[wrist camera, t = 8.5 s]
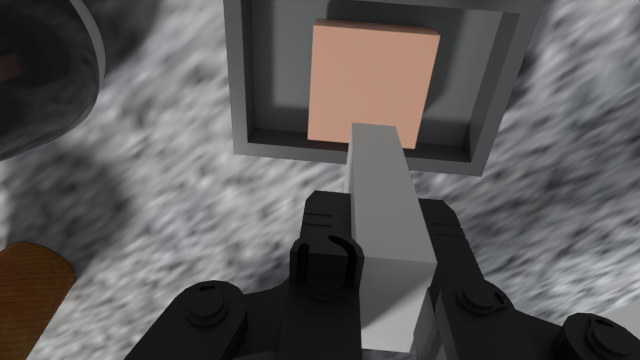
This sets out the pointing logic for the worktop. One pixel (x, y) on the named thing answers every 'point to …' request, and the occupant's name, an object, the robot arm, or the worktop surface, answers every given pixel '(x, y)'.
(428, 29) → the key terracotta
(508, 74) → the grey compartment tray
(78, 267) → the worktop surface
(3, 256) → the disposable coffee cup
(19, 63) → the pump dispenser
